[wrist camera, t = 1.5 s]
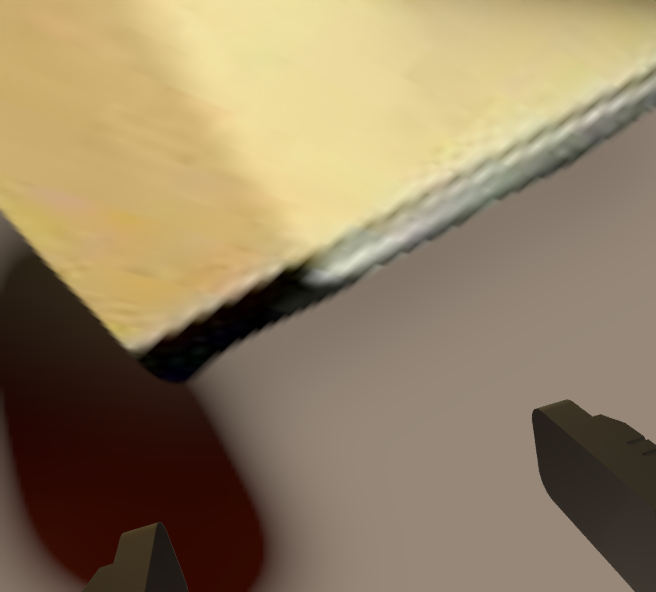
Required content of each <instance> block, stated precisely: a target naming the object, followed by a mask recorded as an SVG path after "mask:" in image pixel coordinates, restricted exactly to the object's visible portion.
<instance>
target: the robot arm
mask: <svg viewBox="0 0 656 592" xmlns="http://www.w3.org/2000/svg"><path fill="white" fill-rule="evenodd" d="M532 423H533V430H534V437H535V444H536V452H537V459H538V467H539V472H540V476H541V480H542V482H543V485H544V486H545V489H546V491H547V493H548V494H549V496H550V497H551V499H552V500H553V501H554V502H555V503H556V505H558V507H559V508H560V509H561V510H562V511H563V512H564V513H565V514H566V516H567V517H568V518H569V519H570V520H571V521H572V522H573V523H574V525H575V526H576V527H577V528H578V529H579V530H580V531H581V532H582V533H583V534H584V536H585V537H587V539H588V540H589V541H590V542H591V543H592V544H593V546H594V547H595V548H596V549H597V550H598V551H599V552H600V553H601V554H602V556H603V557H604V558H605V559H606V560H607V561H608V562H609V563H610V564H611V565H612V567H613V568H614V569H615V570H616V571H617V572H618V573H619V574H620V575H621V577H622V578H623V579H624V580H625V581H626V582H627V583H628V584H629V585H630V587H631V588H632V589H633V590H634V591H635V592H656V445H655V444H654V443H652V442H651V441H650V440H645V438H644V436H643V435H641V434H640V433H638V432H637V431H636V430H634V429H633V428H631V427H630V426H629V425H627V424H626V423H623V422H621V421H618V420H615V419H612V418H609V417H606V416H603V415H601V414H600V415H597V416H594V417H592V416H591V415H590V414H588V413H587V412H586V411H584V410H583V409H581V408H580V407H579V406H578V405H576V404H575V403H574V402H572V401H571V400H563V401H560V402H557V403H553V404H550V405H547V406H543V407H540V408H537V409H534V410H533V413H532ZM82 592H188V589H187V585H186V582H185V579H184V576H183V573H182V571H181V568H180V566H179V563H178V560H177V558H176V555H175V552H174V550H173V547H172V545H171V542H170V539H169V537H168V534H167V531H166V529H165V527H164V525H163V524H162V523H160V522H159V523H155V524H152V525H149V526H145V527H142V528H139V529H136V530H132V531H129V532H126V533H123V534H122V535H121V538H120V541H119V545H118V549H117V553H116V557H115V560H114V564H111V565H108V566H104V567H102V568H99V569H98V571H97V572H96V574H95V575H94V576H93V578H92V579H91V581H90V582H89V583H88V585H87V586H86V587H85V589H84V590H83V591H82Z"/></svg>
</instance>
